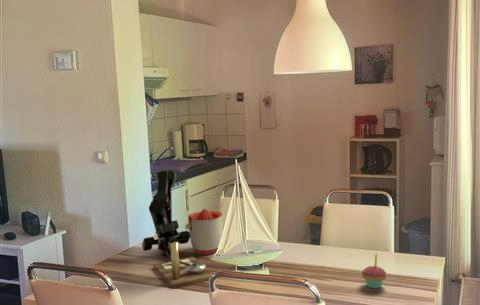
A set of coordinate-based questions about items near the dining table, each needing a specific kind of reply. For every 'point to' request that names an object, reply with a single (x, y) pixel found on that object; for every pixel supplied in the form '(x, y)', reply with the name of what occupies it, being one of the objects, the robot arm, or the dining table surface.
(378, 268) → the cupcake
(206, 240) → the citrus juicer
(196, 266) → the capstan cam
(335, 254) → the dining table surface
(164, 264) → the level stand
